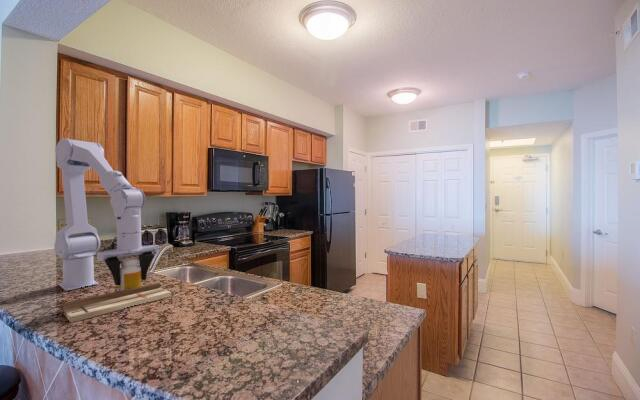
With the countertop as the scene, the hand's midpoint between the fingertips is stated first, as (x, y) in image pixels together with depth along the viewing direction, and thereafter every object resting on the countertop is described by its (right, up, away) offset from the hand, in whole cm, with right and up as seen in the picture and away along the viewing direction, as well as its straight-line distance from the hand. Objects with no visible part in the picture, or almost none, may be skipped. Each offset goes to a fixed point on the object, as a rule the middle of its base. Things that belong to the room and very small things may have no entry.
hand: (130, 281), depth 83 cm
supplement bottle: (0, -4, 0) cm, 4 cm away
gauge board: (+2, -4, -8) cm, 9 cm away
